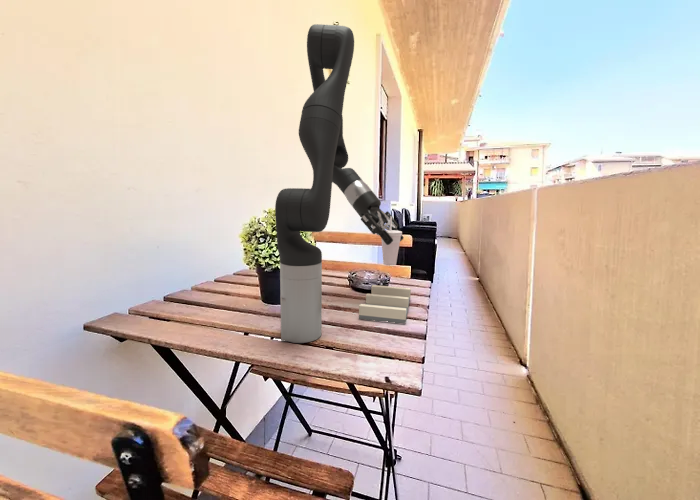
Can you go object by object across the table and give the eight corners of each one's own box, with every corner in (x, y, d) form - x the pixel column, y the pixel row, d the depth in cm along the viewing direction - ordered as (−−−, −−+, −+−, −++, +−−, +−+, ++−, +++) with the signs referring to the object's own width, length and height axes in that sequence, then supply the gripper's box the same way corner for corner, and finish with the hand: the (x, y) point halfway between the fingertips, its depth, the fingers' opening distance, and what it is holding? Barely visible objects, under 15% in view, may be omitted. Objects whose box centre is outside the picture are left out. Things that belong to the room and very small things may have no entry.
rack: (405, 324, 85) (405, 310, 84) (358, 319, 88) (359, 305, 87) (410, 299, 104) (410, 288, 104) (372, 296, 107) (372, 285, 106)
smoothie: (375, 264, 97) (377, 216, 95) (383, 260, 103) (385, 215, 100) (396, 267, 94) (398, 217, 92) (403, 263, 100) (406, 216, 97)
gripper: (357, 189, 93) (393, 235, 89) (381, 190, 105) (415, 231, 100) (341, 207, 97) (375, 253, 92) (366, 206, 109) (398, 246, 104)
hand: (395, 241), depth 96 cm, fingers closed on smoothie, 6 cm apart
